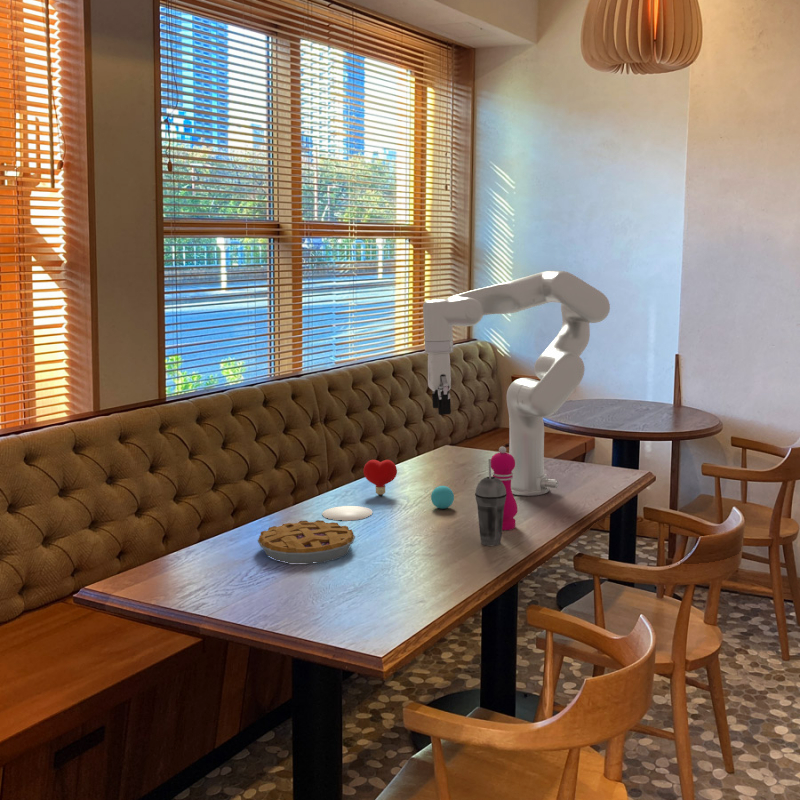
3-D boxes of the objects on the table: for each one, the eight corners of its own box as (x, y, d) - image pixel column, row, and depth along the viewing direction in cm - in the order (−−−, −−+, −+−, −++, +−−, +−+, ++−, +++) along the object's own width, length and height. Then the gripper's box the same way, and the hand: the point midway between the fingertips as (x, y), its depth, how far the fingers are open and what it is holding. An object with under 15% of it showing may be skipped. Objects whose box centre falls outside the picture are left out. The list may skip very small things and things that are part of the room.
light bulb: (398, 492, 260) (398, 457, 258) (396, 499, 253) (395, 463, 251) (365, 492, 261) (364, 457, 259) (362, 498, 254) (361, 462, 252)
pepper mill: (521, 524, 228) (521, 444, 225) (512, 532, 221) (512, 450, 218) (493, 521, 231) (493, 442, 228) (483, 529, 224) (483, 448, 221)
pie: (278, 574, 196) (277, 551, 195) (245, 546, 215) (244, 525, 214) (371, 557, 206) (370, 535, 205) (332, 531, 225) (331, 511, 224)
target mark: (381, 509, 242) (381, 509, 242) (357, 523, 231) (357, 522, 231) (338, 504, 248) (338, 503, 248) (312, 517, 237) (312, 516, 237)
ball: (457, 506, 244) (457, 484, 243) (448, 512, 239) (448, 489, 238) (436, 504, 247) (436, 482, 246) (427, 510, 242) (427, 487, 241)
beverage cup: (509, 539, 216) (510, 455, 213) (502, 549, 209) (503, 462, 206) (479, 536, 218) (479, 453, 215) (471, 546, 212) (471, 460, 208)
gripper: (420, 344, 252) (423, 406, 255) (429, 351, 235) (432, 417, 238) (447, 342, 253) (449, 404, 256) (458, 349, 236) (461, 415, 239)
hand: (441, 410), depth 247 cm, fingers open, 9 cm apart
